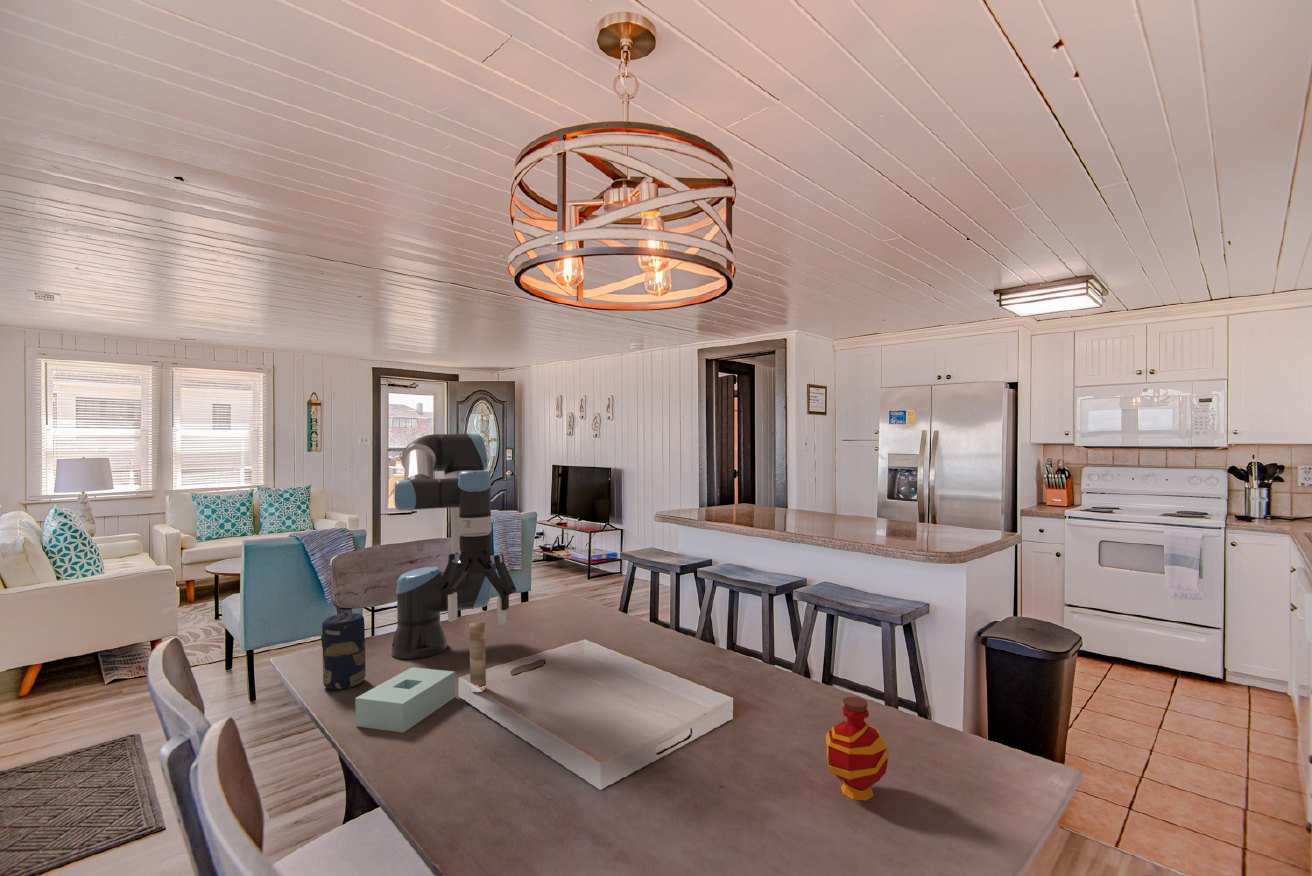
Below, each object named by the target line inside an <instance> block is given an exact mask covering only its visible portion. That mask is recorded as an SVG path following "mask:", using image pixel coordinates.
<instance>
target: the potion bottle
mask: <svg viewBox="0 0 1312 876" xmlns="http://www.w3.org/2000/svg"><path fill="white" fill-rule="evenodd" d="M842 702H843V704H844V705H843V706H842V707H841V710H842V714H843V716H845V717H846V720H842V721H840V722H838V723H837V724H835V725H834V726H832V727H831V729H830V730H828V731H827V733H826V735H825V742H826V760H827V766H828V769H829V772H830V774H833V775H834V776H835V777H836V778H837V779H838V780H840V781H841V783H842V785H841V786H840V788H841V793H842V795H844V796H846V797H848V798H849V799H852V800H856V801H869V800H870V799H872V798H873V797H874V793H873V790H872V788H871V787H872V786H873V785H875V784H877V783H879V781H880V780H881V779H882V778H883V777H884V775H885V774H886V773H887V768H888V767H887V766H888V764H889V763H888V762H889V760H888V757H889V752H888V751H889V750H888V748H887V745H886V741H885V739H884V738H883V736H882V735H881V733H880V732H879V731H878V729H877V728H876V727H874V726H871V725H870V724H868V723H867V722H865V719H867V718H869V716H870V713H869V710H868V705H869V704H868V701H867V699H864V698H861V697H859V696H847V697H844V698H842Z"/></svg>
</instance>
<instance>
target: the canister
mask: <svg viewBox="0 0 1312 876" xmlns="http://www.w3.org/2000/svg"><path fill="white" fill-rule="evenodd" d="M365 627H366V625H365V617H364V616H363V614H361V613H357V612H355V613H354V612H346V611H345V612H342V613H339V614H334V615H331V616H329V617H327V618H325V619H324V620H323V621H322V623H321V632H322V634H321V636H322V639H321V640H322V681H323V686H324V687H325V688H326V689H329V690H343V689H349V688H352V687H355V686H357V685H359V684H361V683H362V682H363V681H364V680H365V679H366V676H367V675H366V673H367V672H366V671H367V670H366V638H365V637H366V634H365V630H366V629H365Z"/></svg>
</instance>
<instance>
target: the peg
mask: <svg viewBox="0 0 1312 876" xmlns="http://www.w3.org/2000/svg"><path fill="white" fill-rule="evenodd" d="M485 624H486V623H485V622H484V621H474V622H471V623H469V625H468V627H469V634H468V635H469V674H470V675H469V677H470V679H469V680H470V682H471V683H473V684H474V685H478V686H479V687H482V686H485V685H486V686H487V681H486V680H487V678H486V677H487V676H486V675H487V674H486V673H487V670H486V669H487V668H486V625H485Z"/></svg>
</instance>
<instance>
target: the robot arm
mask: <svg viewBox="0 0 1312 876" xmlns="http://www.w3.org/2000/svg"><path fill="white" fill-rule="evenodd" d="M400 460H401V466H402V468H403V469H404V473H403V479H400V480H399V479H398V480H396V481H395V483H394V488H393V491H394V496H393V497H394V507H395V508H396V510H399V511H415V510H416V511H417V510H432V509H448V508H449V509H450V537H451V538H450V539H451V541H450V542H451V553H450V554H449V555H448V561H447V564H446V567H445V570H444V571H441V569H440V568H439V567H438V566H425V567H421V568H416V569H412V570H409V571H406V572H404V573H402V574H401V575H400V576H399V577H398V578H397V581H396V582H397V583H396V591H395V593H396V595H397V596H396V597H397V598H396V599H397V600H396V602H397V603H396V604H397V606H396V609H397V610H396V611H397V612H396V616H397V618H396V619H397V620H396V621H397V627H396V630H395V633H394V635H393V640H392V643H391V646H390V656H392V657H393V658H396V659H401V660H415V659H422V658H423V659H424V658H428V657H431V656H435V655H438V654H440V653H442V652H443V651H445V650H446V649H447V648H448V639H447V636H446V635H445V631H444V628H443V625H442V623H441V613H445V612H446V613H447V620H448V621H447V622H448V623H451V622H453V621H456V620H457V619H458V611H463V610H474V609H477V608H484V607H486V606H488V604H489V602H490V601H491V595H492V586H493V588H494V590H496V592H497V593H498V594H499V596H497V597H496V599H497V601H496V603H497V607H496V608H497V609H496V610H497V614H496V615H497V626H501V625H504V624H505V623H507V610H508V609H509V608H510V595H513V594H514V593H516V592H517V588H516V586H515V583H514V581H513V578H512V577H511V575H510V572H509V571H508V567H507V566H506V563H505V558H504V554H503V553H497V554H495V555H493V554H492V548H493V547H492V545H493V544H492V543H493V542H492V539H493V538H492V535H491V532H492V531H493V530H492V512H491V511H492V510H491V508H492V504H491V502H492V501H491V500H492V499H491V498H492V497H491V495H492V494H491V490H492V488H491V487H492V482H491V481H492V480H491V473H490V472H489V470H488V454H487V448H486V444H485V441H484V438H483V436H481V434H477V433H451V434H450V433H447V434H446V433H444V434H443V433H439V434H438V433H436V434H435V433H433V434H427V435H423V436H421V437H418V438H416V439H414V440H413V441H411V442H410V443H408V444H407V445H406V447H405V448H404V449H403V451H402V453H401V459H400ZM434 472H444V473H443V474H444V475H443V476H444V478H434ZM491 563H492V564H494V566H493V565H492V564H491ZM494 567H495V568H494ZM495 570H496V571H495Z"/></svg>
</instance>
